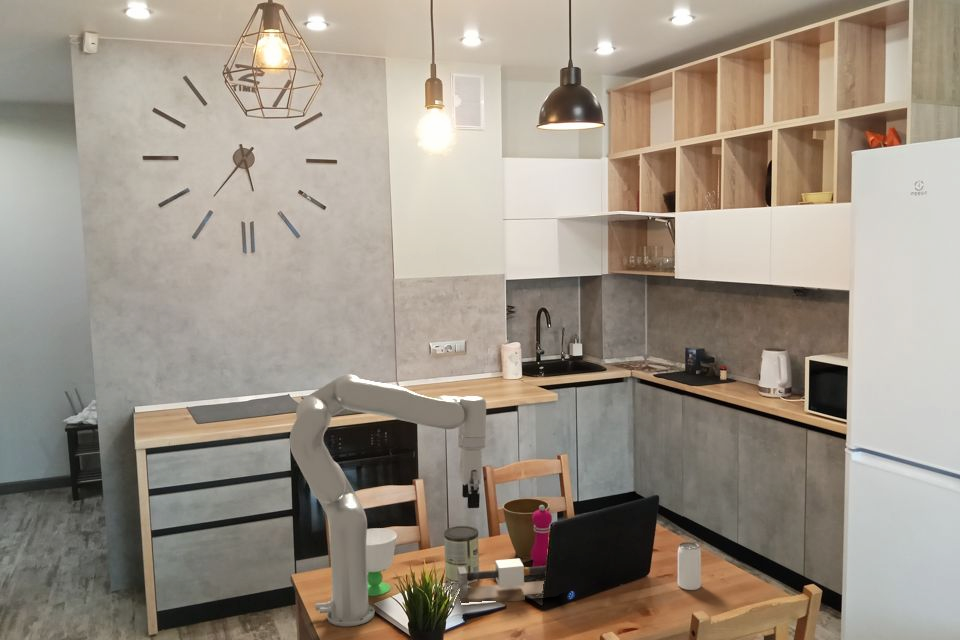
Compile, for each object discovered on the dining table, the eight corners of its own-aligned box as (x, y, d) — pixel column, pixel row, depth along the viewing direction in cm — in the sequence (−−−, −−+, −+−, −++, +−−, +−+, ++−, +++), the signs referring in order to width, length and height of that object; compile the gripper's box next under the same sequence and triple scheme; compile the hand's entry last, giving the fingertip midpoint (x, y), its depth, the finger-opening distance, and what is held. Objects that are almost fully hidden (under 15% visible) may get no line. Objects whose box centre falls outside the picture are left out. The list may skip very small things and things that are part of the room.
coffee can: (447, 570, 245) (446, 525, 244) (481, 570, 244) (480, 525, 243) (442, 584, 235) (441, 537, 234) (477, 585, 234) (476, 538, 233)
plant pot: (528, 541, 267) (527, 495, 266) (559, 554, 256) (559, 505, 255) (494, 553, 258) (493, 504, 257) (525, 566, 247) (524, 516, 245)
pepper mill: (534, 574, 240) (533, 509, 239) (528, 565, 247) (527, 502, 246) (557, 572, 242) (556, 507, 240) (550, 563, 249) (550, 500, 247)
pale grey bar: (461, 605, 220) (460, 576, 220) (457, 593, 228) (456, 564, 227) (560, 596, 225) (559, 567, 224) (552, 585, 233) (552, 556, 232)
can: (686, 592, 226) (686, 551, 225) (673, 583, 232) (673, 543, 231) (705, 588, 228) (705, 547, 227) (691, 579, 234) (691, 540, 233)
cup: (390, 601, 224) (388, 546, 223) (344, 597, 227) (342, 543, 226) (404, 581, 238) (403, 529, 236) (360, 578, 240) (358, 527, 239)
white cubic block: (499, 587, 223) (499, 568, 222) (495, 579, 228) (495, 560, 228) (524, 585, 224) (523, 565, 224) (519, 577, 230) (519, 558, 229)
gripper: (454, 434, 229) (453, 493, 230) (462, 449, 212) (461, 512, 213) (480, 434, 230) (478, 492, 231) (490, 448, 213) (489, 511, 214)
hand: (470, 502), depth 222 cm, fingers open, 9 cm apart
